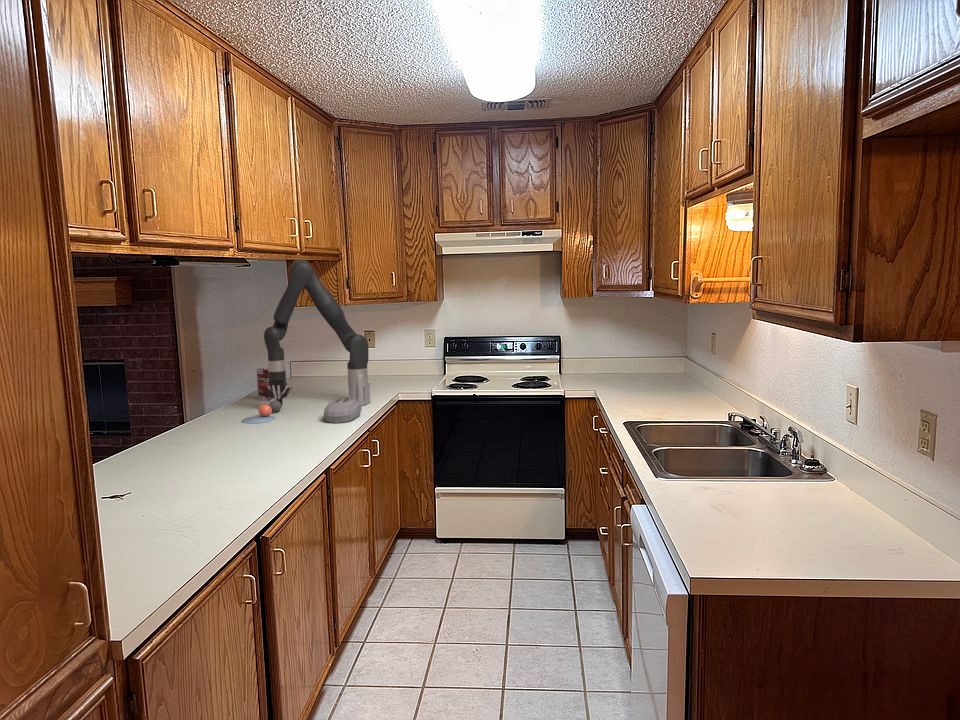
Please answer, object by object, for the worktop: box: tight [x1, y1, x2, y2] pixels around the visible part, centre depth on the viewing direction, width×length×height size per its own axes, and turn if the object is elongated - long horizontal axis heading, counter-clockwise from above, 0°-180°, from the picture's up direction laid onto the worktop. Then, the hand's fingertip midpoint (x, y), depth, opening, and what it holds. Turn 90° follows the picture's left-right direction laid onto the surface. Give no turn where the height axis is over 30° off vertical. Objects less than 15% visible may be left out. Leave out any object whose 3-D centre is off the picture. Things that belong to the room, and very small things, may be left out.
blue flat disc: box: [240, 415, 276, 425], centre depth 279 cm, size 14×14×1 cm
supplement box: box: [256, 367, 275, 403], centre depth 322 cm, size 9×5×16 cm, turn 62°
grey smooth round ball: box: [268, 400, 282, 413], centre depth 293 cm, size 6×6×6 cm
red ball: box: [258, 404, 273, 417], centre depth 284 cm, size 6×6×6 cm
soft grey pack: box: [323, 397, 363, 424], centre depth 277 cm, size 15×8×20 cm
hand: (279, 407), depth 297 cm, fingers closed
